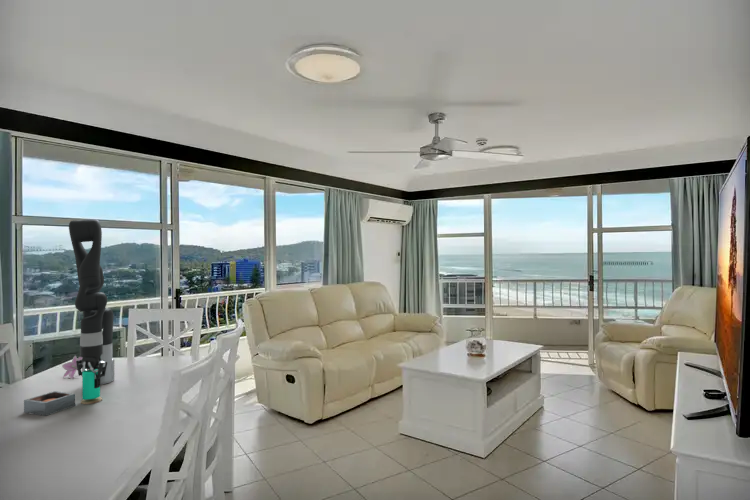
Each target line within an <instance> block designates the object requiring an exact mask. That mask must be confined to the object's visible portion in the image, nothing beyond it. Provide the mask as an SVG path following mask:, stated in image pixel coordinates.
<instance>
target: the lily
mask: <svg viewBox="0 0 750 500" xmlns="http://www.w3.org/2000/svg"><path fill="white" fill-rule="evenodd" d="M82 358H83V357H80V356H78V358H77V355H76V354H75V355H74V356H73V358H72V360H71V361H69V362H65V363H63V364H62V365H61V368H63V369H64V370H66V371H65V373H64V374H63V376H62V378H63V379H64V378H65V377H67V376H69V378H70V380H73V378H74V376H75V374H76V372H77V371H78V370H77V364H76V361H78V360H82Z"/></svg>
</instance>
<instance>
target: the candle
mask: <svg viewBox="0 0 750 500" xmlns="http://www.w3.org/2000/svg"><path fill="white" fill-rule="evenodd" d="M95 370H97V369H95ZM81 372H82V371H81ZM97 373H98V372H96V375H97ZM81 378H82V382H81V383H82V387H81V388H82V395H81V396H82V400H84V399H85V400H86V399H94V398H98V397H101V386H100V387H98V388H94V373H92V372H91V370H90V371H86V372H82V376H81Z"/></svg>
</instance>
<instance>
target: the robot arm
mask: <svg viewBox="0 0 750 500" xmlns="http://www.w3.org/2000/svg"><path fill="white" fill-rule="evenodd" d="M68 232H69V233H68V234H69V237H70V241H71V245H72V249H73V253H74V257H75V258H74V259H75V265H76V274H77V275H76V276H77V280H78V285H79V286H78V291H77V294H76V298H75V301H74V307H75V309H76V310H77V311H79V312H82V315H83V316H82V317H83V318H82V319H81V320H80V338H79V357H83V358H82V360H78V361H76V364H77V370H76V371H77V374H78V376H79V377H80V376H81V377H82V372H86V371H90V370H91V372H92V373H94V388H98V387H100V388H101V385H105V384H109V383H112V382H113V381H115V359H114V358H113V336H114V335H113V334H114V333H113V332H114V317H115V316H114V312H113V309H112V308H109V307H108V308H107V304H108V296H107V295H106V294H105V292H101V290H102V288H103V287H104V283H105V278H104V270H103V267H102V266H101V265H100V263H101V253H102V239H103V238H102V237H103V236H102V235H103V231H102V226H101V222H100V221H99V220H98V219H94V218H93V219H90V218H89V219H75V220H70V222H69V223H68ZM87 242H88V243H89V242H90V243H91V242H92V244H91V247H90V249H89V251H88V252H87V250H86V249H85V247H84V245H83V243H87ZM95 369H97V370H95ZM96 372H98V373H97V375H96Z"/></svg>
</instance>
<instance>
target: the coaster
mask: <svg viewBox="0 0 750 500" xmlns="http://www.w3.org/2000/svg"><path fill="white" fill-rule="evenodd" d="M102 401H103V397H101V396H100V397H98V398H94V399H86V400H85V399H82V400H80V404H81V405H93V404H97V403H100V402H102Z"/></svg>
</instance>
